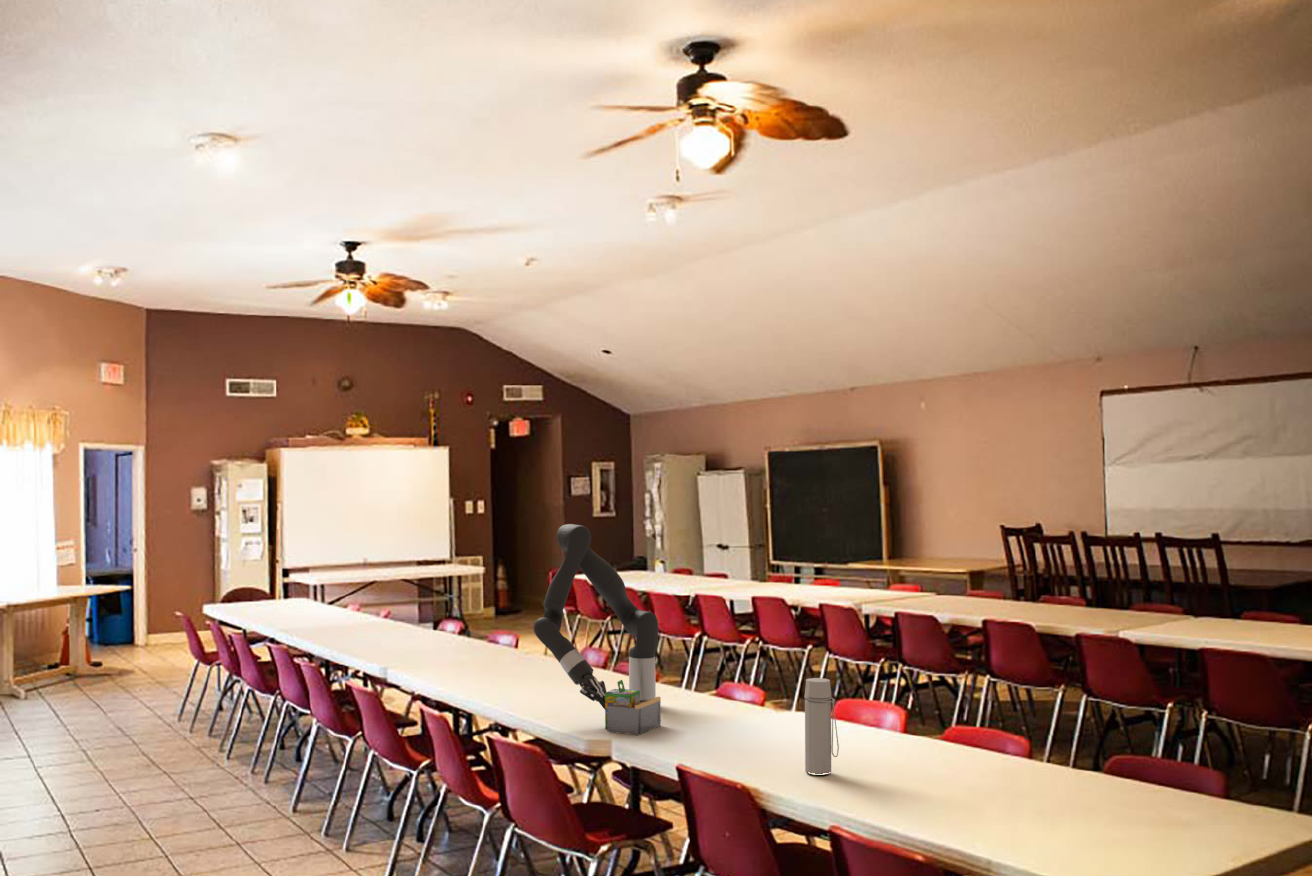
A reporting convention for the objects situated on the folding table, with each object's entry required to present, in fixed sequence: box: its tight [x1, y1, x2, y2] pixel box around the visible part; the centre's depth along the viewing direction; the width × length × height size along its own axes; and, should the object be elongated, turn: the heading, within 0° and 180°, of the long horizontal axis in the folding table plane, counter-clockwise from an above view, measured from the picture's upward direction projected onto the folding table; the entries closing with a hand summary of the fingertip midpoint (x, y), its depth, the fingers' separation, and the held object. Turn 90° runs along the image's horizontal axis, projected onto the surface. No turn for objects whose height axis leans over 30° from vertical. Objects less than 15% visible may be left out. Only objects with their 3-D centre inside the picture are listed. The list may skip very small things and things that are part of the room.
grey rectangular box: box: [606, 696, 662, 736], centre depth 365 cm, size 16×11×9 cm
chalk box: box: [604, 679, 640, 730], centre depth 367 cm, size 9×9×15 cm
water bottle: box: [804, 677, 840, 774], centre depth 308 cm, size 9×8×25 cm
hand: (608, 708), depth 369 cm, fingers closed
